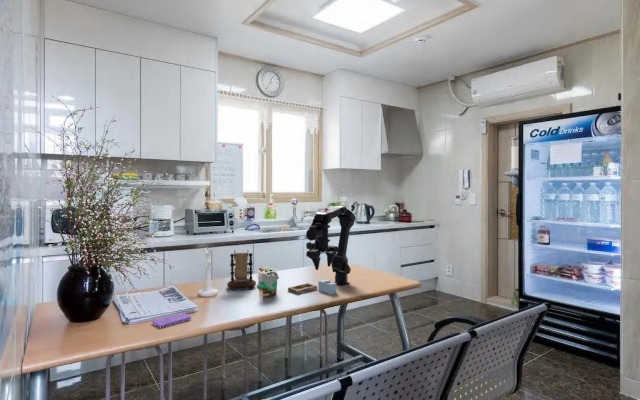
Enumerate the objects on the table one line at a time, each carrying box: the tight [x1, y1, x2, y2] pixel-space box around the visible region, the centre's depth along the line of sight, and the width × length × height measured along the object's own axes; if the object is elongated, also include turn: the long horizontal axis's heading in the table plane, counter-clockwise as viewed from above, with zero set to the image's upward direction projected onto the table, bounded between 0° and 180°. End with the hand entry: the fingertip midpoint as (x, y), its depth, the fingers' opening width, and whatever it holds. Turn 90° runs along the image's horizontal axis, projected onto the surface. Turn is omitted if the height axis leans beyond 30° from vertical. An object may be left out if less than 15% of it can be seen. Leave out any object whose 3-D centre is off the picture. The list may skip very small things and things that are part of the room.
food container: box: [261, 271, 279, 298], centre depth 182 cm, size 12×6×10 cm, turn 168°
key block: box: [318, 279, 337, 295], centre depth 188 cm, size 4×9×6 cm, turn 41°
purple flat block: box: [152, 312, 192, 328], centre depth 147 cm, size 7×13×2 cm, turn 135°
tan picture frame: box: [287, 282, 318, 295], centre depth 190 cm, size 13×8×2 cm, turn 131°
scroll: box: [226, 249, 257, 291], centre depth 195 cm, size 15×15×20 cm
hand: (323, 268), depth 187 cm, fingers open, 9 cm apart
